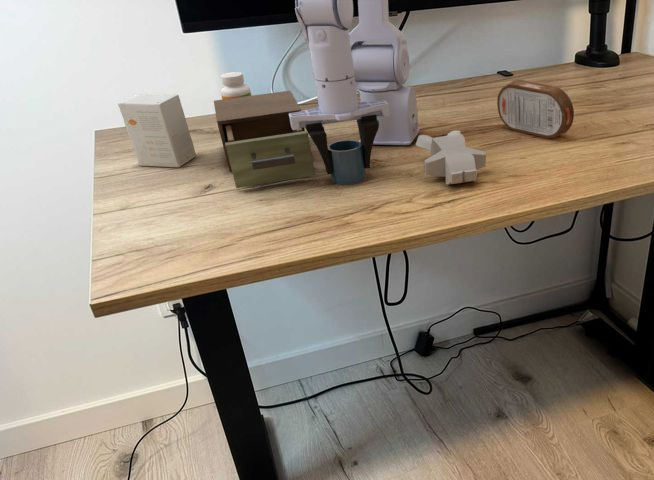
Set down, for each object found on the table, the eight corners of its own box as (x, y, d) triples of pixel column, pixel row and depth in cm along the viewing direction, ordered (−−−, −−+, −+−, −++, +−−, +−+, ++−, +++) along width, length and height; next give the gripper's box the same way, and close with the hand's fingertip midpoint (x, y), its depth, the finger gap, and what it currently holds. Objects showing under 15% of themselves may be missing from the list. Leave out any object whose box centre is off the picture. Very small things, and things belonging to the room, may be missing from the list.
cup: (370, 172, 104) (366, 139, 101) (360, 185, 99) (355, 152, 96) (338, 171, 105) (333, 139, 102) (327, 184, 100) (321, 151, 97)
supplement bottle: (250, 131, 124) (238, 78, 118) (224, 131, 125) (211, 78, 119) (262, 123, 128) (251, 70, 122) (237, 122, 129) (225, 70, 123)
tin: (573, 139, 112) (576, 87, 107) (562, 144, 110) (565, 92, 105) (505, 123, 121) (505, 75, 116) (494, 128, 119) (494, 79, 114)
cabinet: (310, 159, 110) (301, 109, 105) (229, 172, 107) (216, 121, 102) (298, 136, 120) (290, 90, 115) (225, 147, 117) (213, 100, 112)
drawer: (320, 186, 98) (313, 142, 94) (238, 200, 95) (227, 155, 91) (303, 151, 111) (296, 111, 107) (231, 162, 108) (221, 121, 104)
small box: (197, 156, 114) (180, 94, 107) (179, 168, 109) (159, 103, 103) (157, 154, 115) (138, 93, 109) (138, 166, 111) (116, 102, 105)
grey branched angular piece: (432, 166, 93) (408, 124, 104) (433, 198, 96) (410, 154, 107) (495, 157, 95) (465, 117, 105) (494, 189, 98) (465, 147, 109)
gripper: (287, 89, 88) (304, 185, 96) (390, 76, 92) (399, 170, 100) (280, 78, 94) (298, 170, 102) (378, 66, 97) (388, 155, 105)
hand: (347, 169), depth 101 cm, fingers closed on cup, 5 cm apart
